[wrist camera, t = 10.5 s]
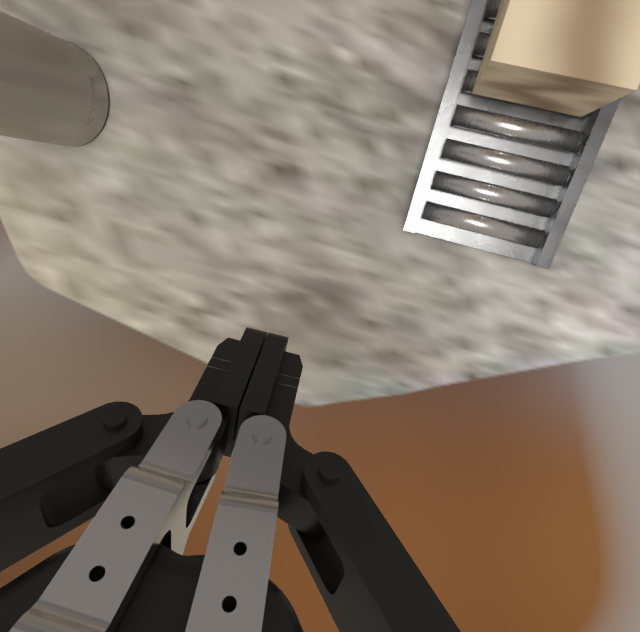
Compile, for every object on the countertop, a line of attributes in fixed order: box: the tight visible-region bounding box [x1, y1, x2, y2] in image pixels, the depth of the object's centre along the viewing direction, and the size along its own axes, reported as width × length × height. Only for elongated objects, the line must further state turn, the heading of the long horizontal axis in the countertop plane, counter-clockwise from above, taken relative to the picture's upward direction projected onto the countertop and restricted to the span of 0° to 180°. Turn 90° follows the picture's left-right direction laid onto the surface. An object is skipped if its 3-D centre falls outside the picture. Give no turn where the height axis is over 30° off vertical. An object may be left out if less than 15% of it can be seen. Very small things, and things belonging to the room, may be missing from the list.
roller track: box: [403, 0, 621, 269], centre depth 30 cm, size 12×24×7 cm, turn 166°
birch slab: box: [472, 0, 640, 117], centre depth 26 cm, size 8×10×8 cm
